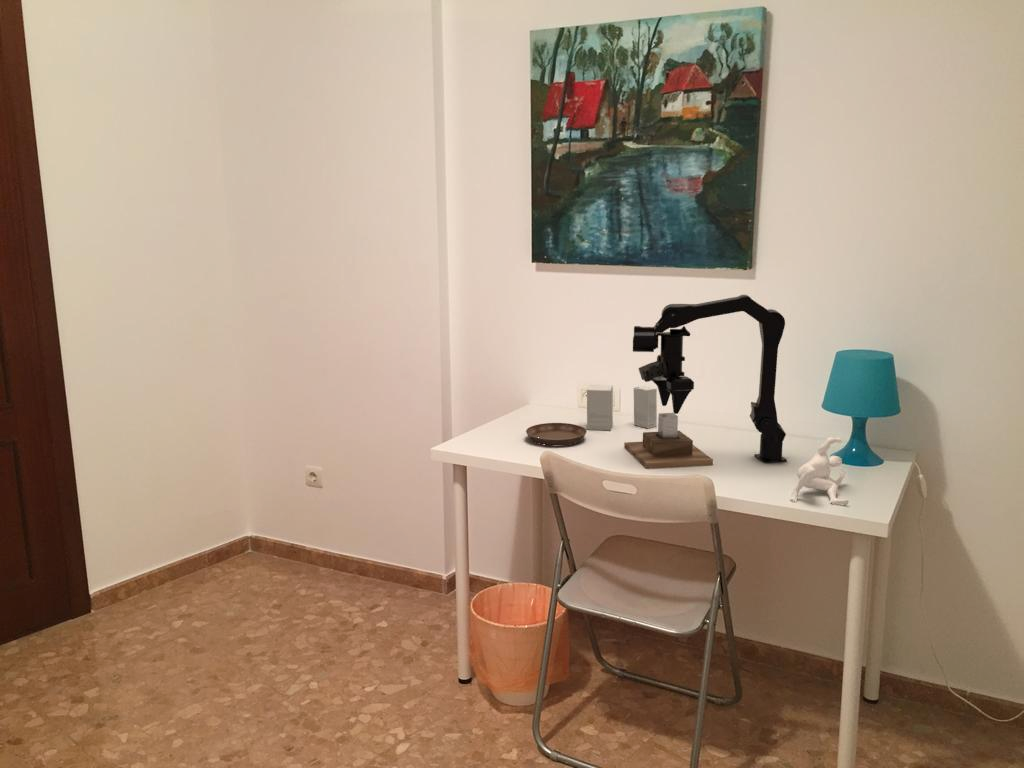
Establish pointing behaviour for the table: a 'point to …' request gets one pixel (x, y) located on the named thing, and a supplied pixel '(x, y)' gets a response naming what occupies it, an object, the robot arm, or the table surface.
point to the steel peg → (667, 426)
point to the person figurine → (821, 473)
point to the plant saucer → (556, 433)
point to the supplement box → (599, 407)
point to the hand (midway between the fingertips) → (669, 409)
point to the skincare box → (645, 406)
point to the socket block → (667, 451)
